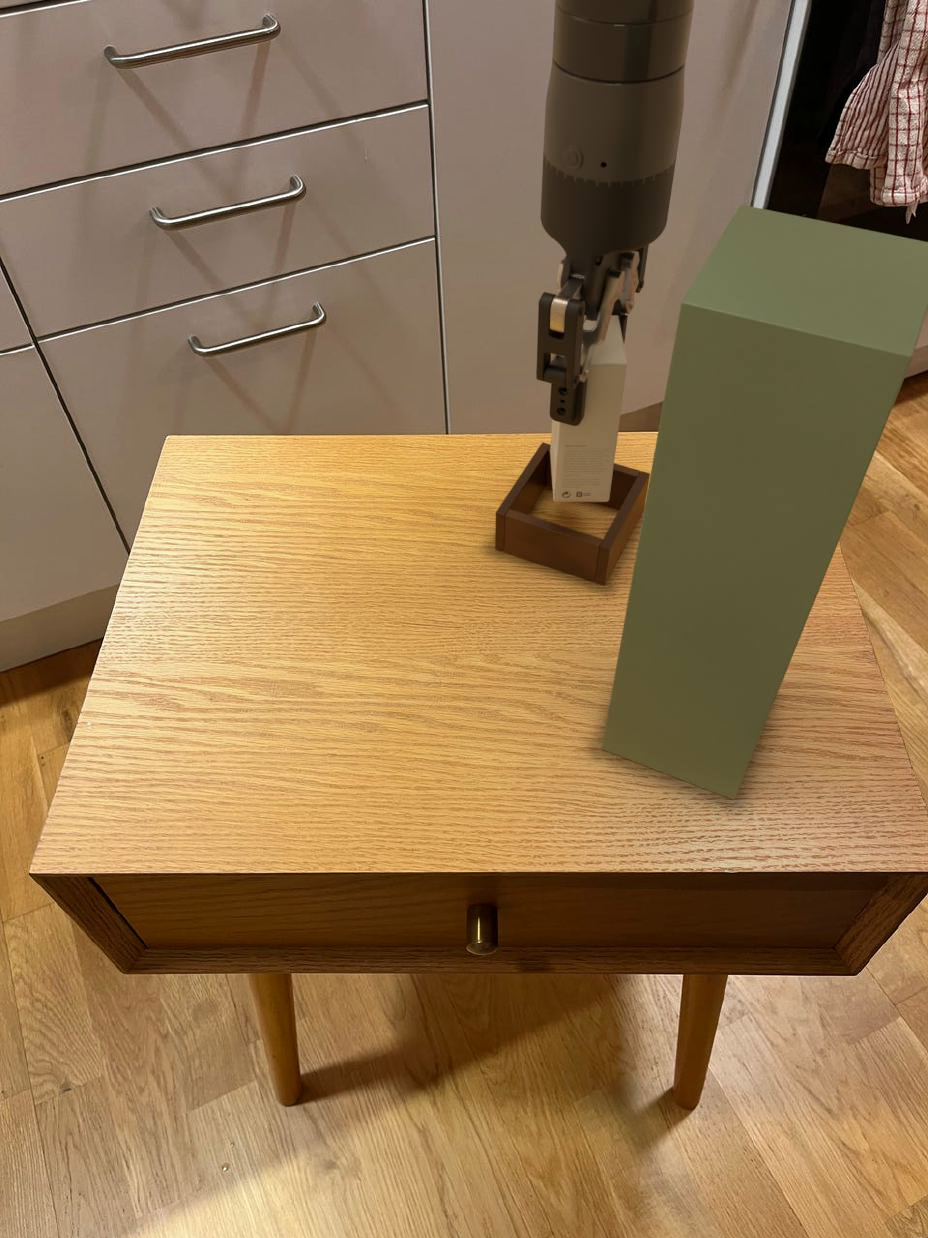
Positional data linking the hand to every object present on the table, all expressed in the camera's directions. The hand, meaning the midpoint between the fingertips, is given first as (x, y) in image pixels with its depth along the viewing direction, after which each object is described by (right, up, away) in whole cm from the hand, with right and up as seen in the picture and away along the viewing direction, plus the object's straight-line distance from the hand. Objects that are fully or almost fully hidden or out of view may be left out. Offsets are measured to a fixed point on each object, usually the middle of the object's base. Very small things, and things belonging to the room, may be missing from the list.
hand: (586, 388), depth 67 cm
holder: (0, -9, +10) cm, 14 cm away
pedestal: (+7, -23, -2) cm, 24 cm away
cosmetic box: (0, -5, +6) cm, 8 cm away
